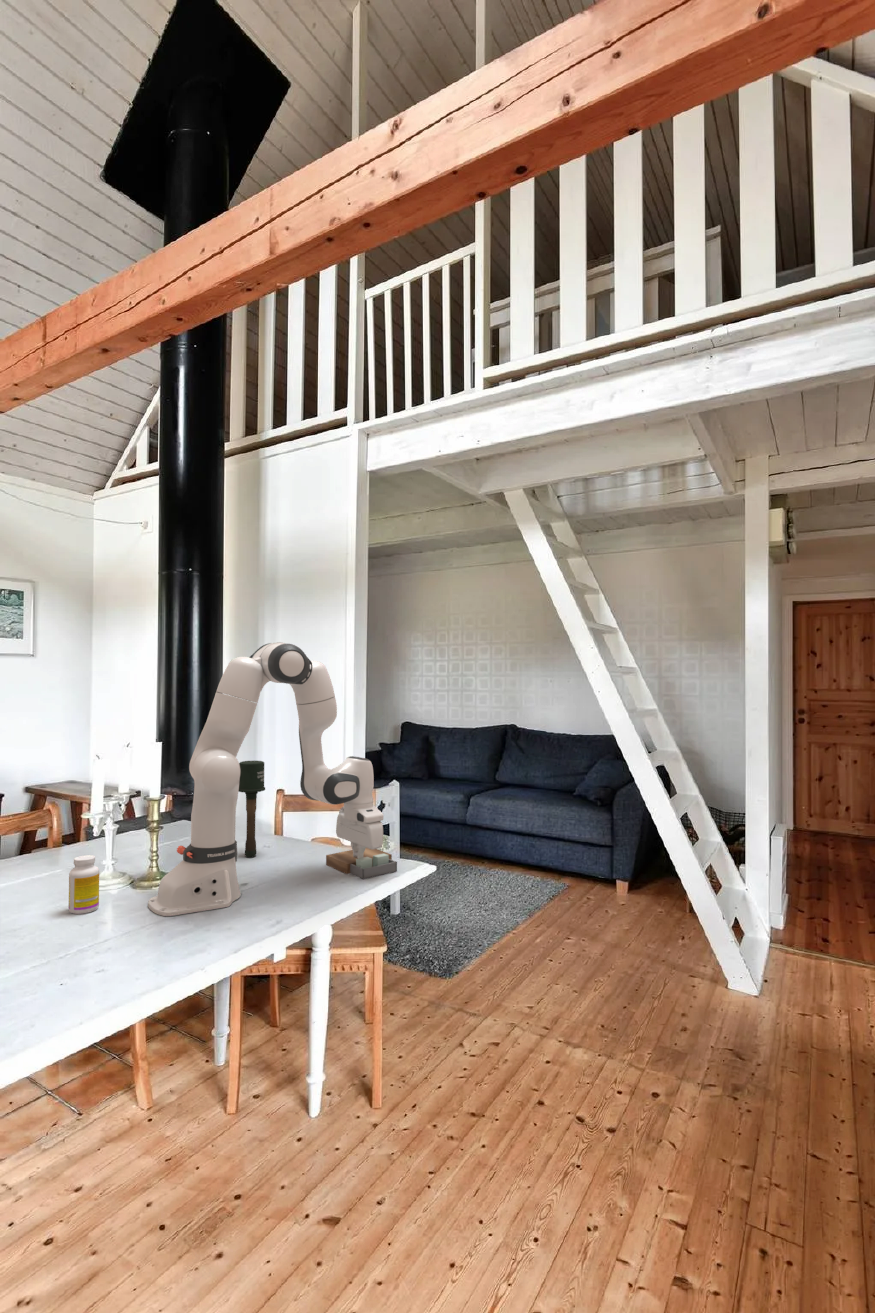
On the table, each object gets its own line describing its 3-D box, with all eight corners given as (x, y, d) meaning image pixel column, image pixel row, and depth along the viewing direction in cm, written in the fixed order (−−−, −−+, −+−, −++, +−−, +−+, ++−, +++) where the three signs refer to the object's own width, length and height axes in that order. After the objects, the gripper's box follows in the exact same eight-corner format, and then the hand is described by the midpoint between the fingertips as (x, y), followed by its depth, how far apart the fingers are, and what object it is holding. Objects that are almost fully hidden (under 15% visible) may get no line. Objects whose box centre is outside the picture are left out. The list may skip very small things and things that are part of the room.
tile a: (355, 873, 195) (360, 875, 193) (356, 859, 195) (360, 861, 193) (367, 870, 197) (372, 872, 195) (367, 856, 197) (372, 858, 196)
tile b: (372, 869, 198) (377, 871, 197) (372, 855, 199) (377, 857, 197) (383, 866, 201) (388, 868, 199) (383, 853, 201) (388, 855, 199)
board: (347, 874, 194) (347, 864, 194) (326, 865, 204) (326, 855, 204) (391, 864, 205) (391, 854, 205) (369, 855, 214) (369, 846, 214)
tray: (362, 879, 190) (363, 869, 190) (350, 873, 195) (350, 864, 195) (396, 871, 197) (396, 862, 197) (383, 866, 203) (383, 856, 203)
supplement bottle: (104, 908, 165) (105, 856, 166) (78, 917, 160) (79, 863, 160) (88, 903, 169) (89, 852, 169) (62, 911, 163) (63, 858, 163)
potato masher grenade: (260, 860, 208) (261, 764, 208) (232, 860, 208) (234, 763, 209) (267, 853, 216) (268, 760, 217) (241, 852, 216) (242, 760, 217)
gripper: (331, 806, 203) (330, 852, 203) (368, 818, 188) (368, 868, 188) (348, 804, 208) (348, 849, 207) (387, 815, 192) (386, 863, 192)
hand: (358, 858), depth 197 cm, fingers closed
